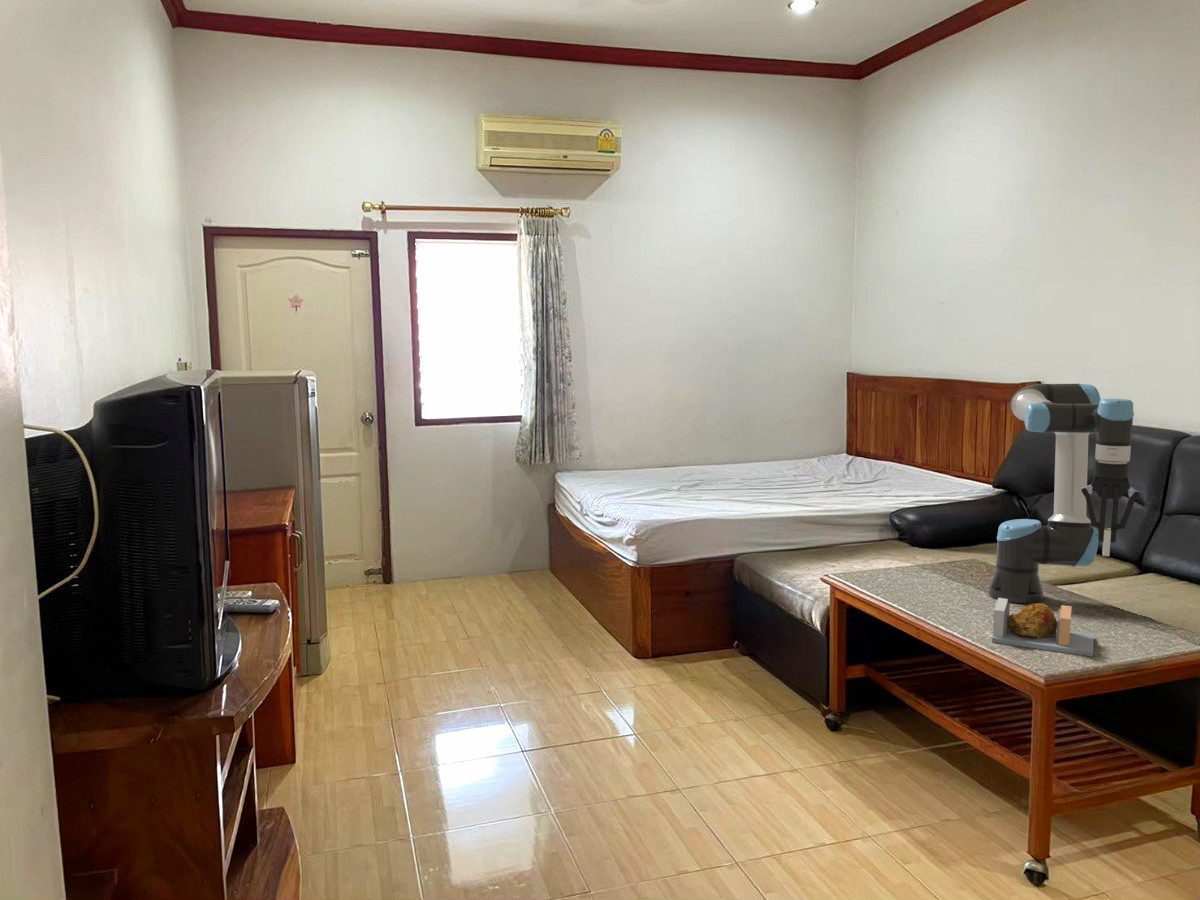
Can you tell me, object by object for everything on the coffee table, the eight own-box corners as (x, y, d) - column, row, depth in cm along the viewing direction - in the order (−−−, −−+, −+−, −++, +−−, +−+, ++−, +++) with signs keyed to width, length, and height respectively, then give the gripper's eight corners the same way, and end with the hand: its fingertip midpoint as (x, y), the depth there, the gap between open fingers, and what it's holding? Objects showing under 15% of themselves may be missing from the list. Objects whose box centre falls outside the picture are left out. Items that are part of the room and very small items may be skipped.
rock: (1045, 655, 231) (1022, 630, 229) (1021, 649, 239) (998, 625, 237) (1068, 622, 233) (1045, 596, 231) (1043, 617, 241) (1021, 593, 239)
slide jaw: (1057, 630, 237) (1058, 604, 236) (1069, 632, 236) (1071, 606, 235) (1055, 644, 227) (1057, 617, 226) (1069, 646, 226) (1070, 619, 225)
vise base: (997, 625, 246) (998, 596, 245) (1092, 638, 235) (1094, 608, 234) (992, 642, 233) (993, 611, 232) (1092, 656, 222) (1095, 624, 221)
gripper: (1082, 461, 221) (1076, 555, 224) (1143, 465, 215) (1136, 561, 218) (1082, 458, 228) (1076, 548, 231) (1142, 461, 222) (1135, 554, 225)
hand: (1105, 554), depth 224 cm, fingers closed
